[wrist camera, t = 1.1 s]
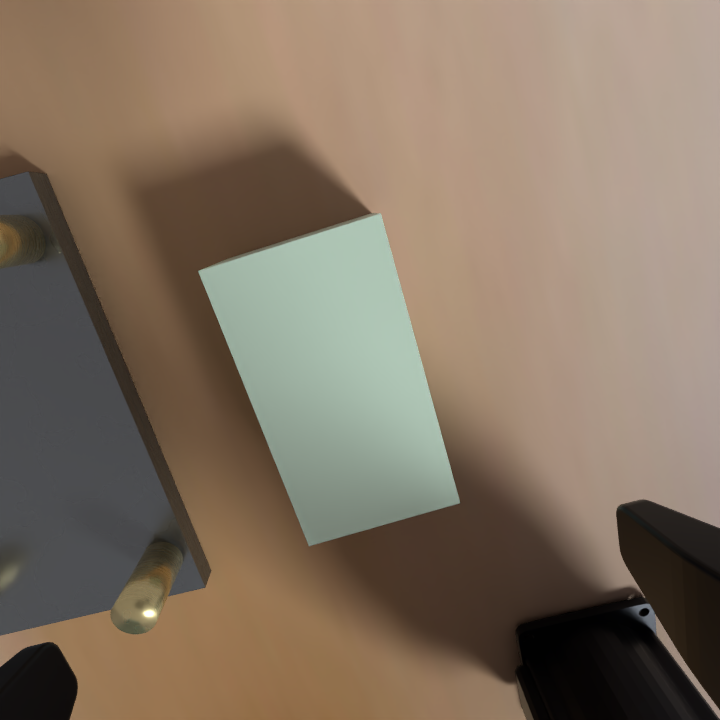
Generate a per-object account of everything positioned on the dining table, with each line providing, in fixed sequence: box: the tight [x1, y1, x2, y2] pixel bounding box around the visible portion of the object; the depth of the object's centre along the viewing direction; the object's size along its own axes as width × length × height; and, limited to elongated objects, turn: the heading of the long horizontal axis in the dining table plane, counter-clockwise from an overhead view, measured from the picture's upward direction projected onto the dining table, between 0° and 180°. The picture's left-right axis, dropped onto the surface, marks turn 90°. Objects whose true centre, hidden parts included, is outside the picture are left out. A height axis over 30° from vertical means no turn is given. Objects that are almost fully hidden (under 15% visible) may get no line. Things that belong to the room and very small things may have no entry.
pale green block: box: [198, 213, 460, 546], centre depth 17 cm, size 6×10×4 cm, turn 17°
